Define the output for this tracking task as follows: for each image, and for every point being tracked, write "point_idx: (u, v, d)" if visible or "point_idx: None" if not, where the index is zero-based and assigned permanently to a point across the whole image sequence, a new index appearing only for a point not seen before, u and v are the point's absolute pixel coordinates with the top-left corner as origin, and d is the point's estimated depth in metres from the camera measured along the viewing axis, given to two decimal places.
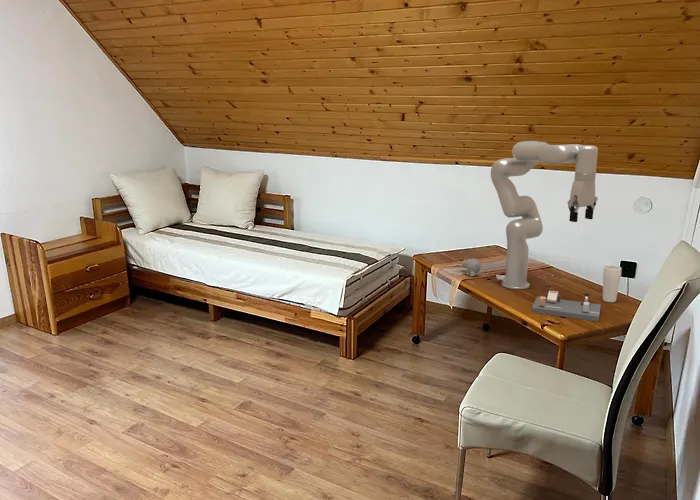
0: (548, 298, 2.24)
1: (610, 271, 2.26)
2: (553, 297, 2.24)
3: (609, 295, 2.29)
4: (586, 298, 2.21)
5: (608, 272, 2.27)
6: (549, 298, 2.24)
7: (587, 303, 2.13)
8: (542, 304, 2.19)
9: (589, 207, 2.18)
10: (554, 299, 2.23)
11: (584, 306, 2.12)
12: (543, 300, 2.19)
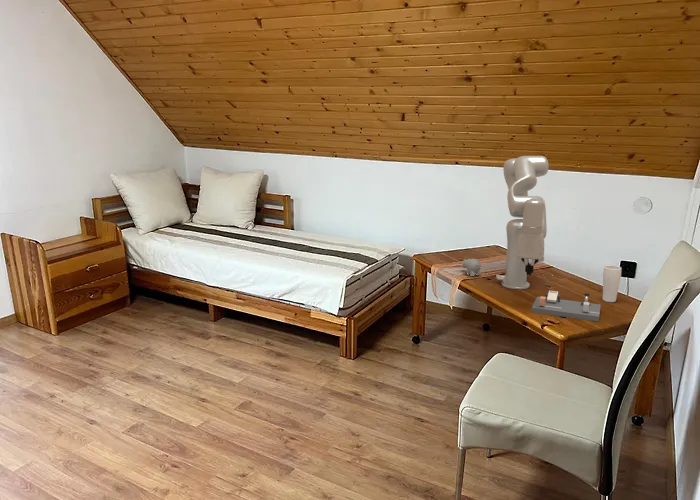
0: (548, 298, 2.24)
1: (610, 271, 2.26)
2: (553, 297, 2.24)
3: (609, 295, 2.29)
4: (586, 298, 2.21)
5: (608, 272, 2.27)
6: (549, 298, 2.24)
7: (587, 303, 2.13)
8: (542, 304, 2.19)
9: (528, 263, 2.19)
10: (554, 299, 2.23)
11: (584, 306, 2.12)
12: (543, 300, 2.19)
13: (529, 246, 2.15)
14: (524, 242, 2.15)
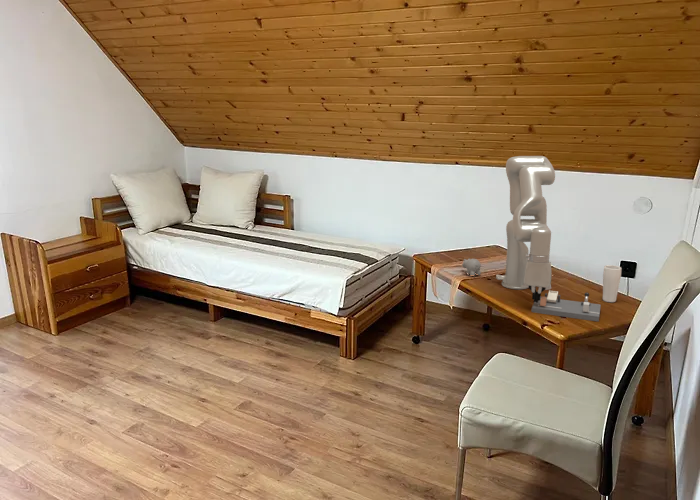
0: (548, 298, 2.24)
1: (610, 271, 2.26)
2: (553, 297, 2.24)
3: (609, 295, 2.29)
4: (586, 298, 2.21)
5: (608, 272, 2.27)
6: (549, 298, 2.24)
7: (587, 303, 2.13)
8: (543, 304, 2.19)
9: (535, 290, 2.21)
10: (554, 299, 2.23)
11: (584, 306, 2.12)
12: (544, 300, 2.19)
13: (536, 274, 2.16)
14: (531, 270, 2.17)
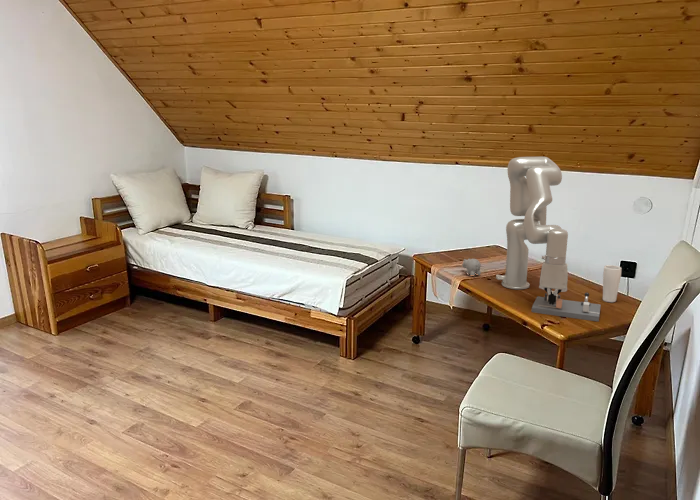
0: None
1: (610, 271, 2.26)
2: None
3: (609, 295, 2.29)
4: (586, 298, 2.21)
5: (608, 272, 2.27)
6: None
7: (587, 303, 2.13)
8: (559, 306, 2.16)
9: (551, 292, 2.18)
10: None
11: (584, 306, 2.12)
12: (560, 302, 2.16)
13: (552, 276, 2.14)
14: (547, 272, 2.14)
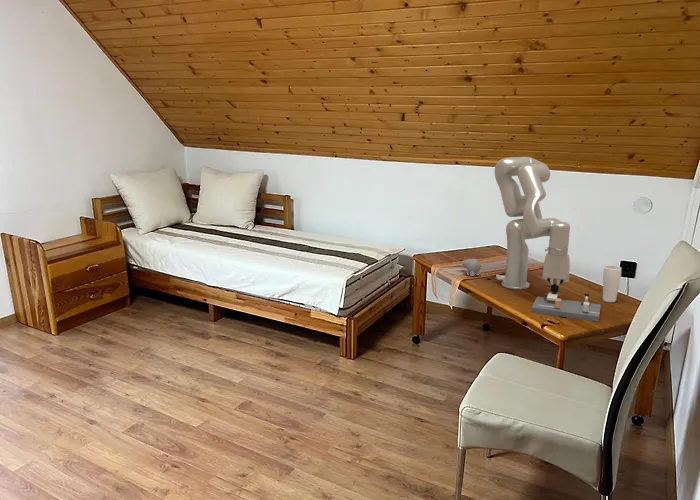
0: (548, 297, 2.24)
1: (610, 271, 2.26)
2: (553, 296, 2.24)
3: (609, 295, 2.29)
4: (586, 298, 2.21)
5: (608, 272, 2.27)
6: (549, 297, 2.24)
7: (587, 303, 2.13)
8: (558, 306, 2.17)
9: (553, 282, 2.28)
10: (554, 298, 2.23)
11: (584, 306, 2.12)
12: (559, 302, 2.16)
13: (555, 267, 2.23)
14: (550, 263, 2.24)
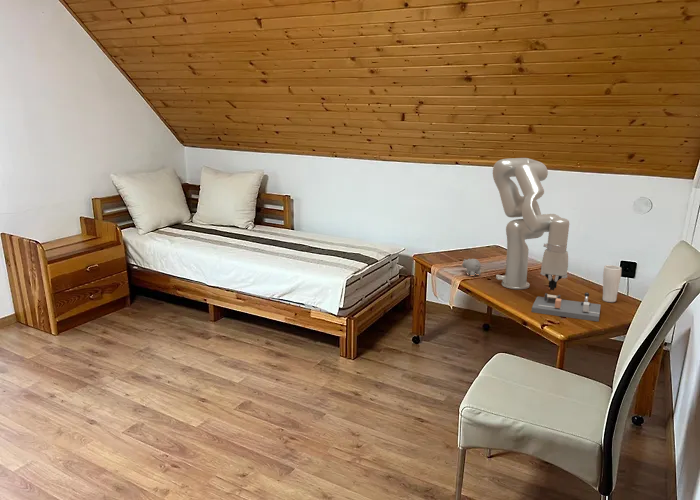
0: None
1: (610, 271, 2.26)
2: None
3: (609, 295, 2.29)
4: (586, 298, 2.21)
5: (608, 272, 2.27)
6: None
7: (587, 303, 2.13)
8: (558, 306, 2.17)
9: (552, 278, 2.28)
10: None
11: (584, 306, 2.12)
12: (559, 302, 2.16)
13: (554, 263, 2.23)
14: (549, 259, 2.23)
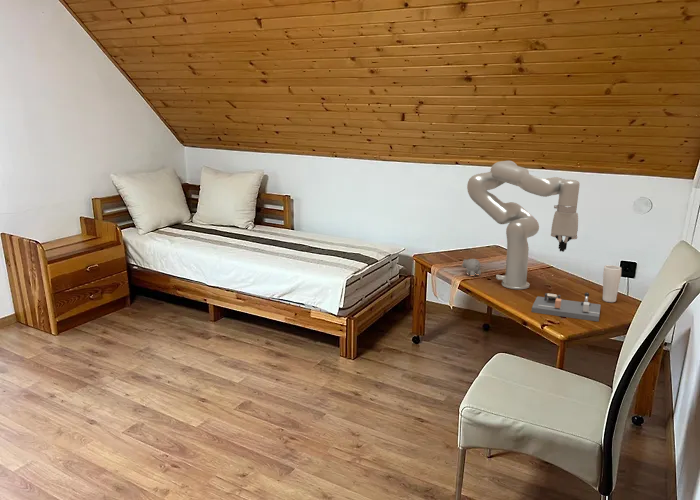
0: None
1: (610, 271, 2.26)
2: None
3: (609, 295, 2.29)
4: (586, 298, 2.21)
5: (608, 272, 2.27)
6: None
7: (587, 303, 2.13)
8: (558, 306, 2.17)
9: (562, 240, 2.33)
10: None
11: (584, 306, 2.12)
12: (559, 302, 2.16)
13: (563, 224, 2.28)
14: (559, 220, 2.29)
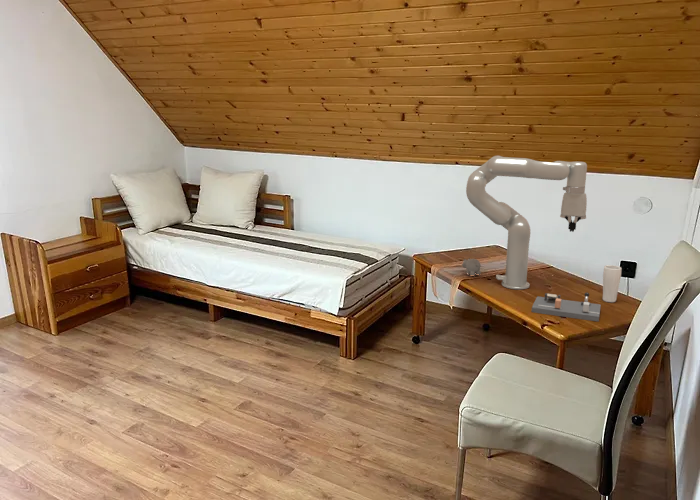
0: (548, 294, 2.24)
1: (610, 271, 2.26)
2: None
3: (609, 295, 2.29)
4: (586, 298, 2.21)
5: (608, 272, 2.27)
6: (549, 294, 2.24)
7: (587, 303, 2.13)
8: (558, 306, 2.17)
9: (571, 220, 2.40)
10: None
11: (584, 306, 2.12)
12: (559, 302, 2.16)
13: (573, 205, 2.36)
14: (568, 201, 2.37)
